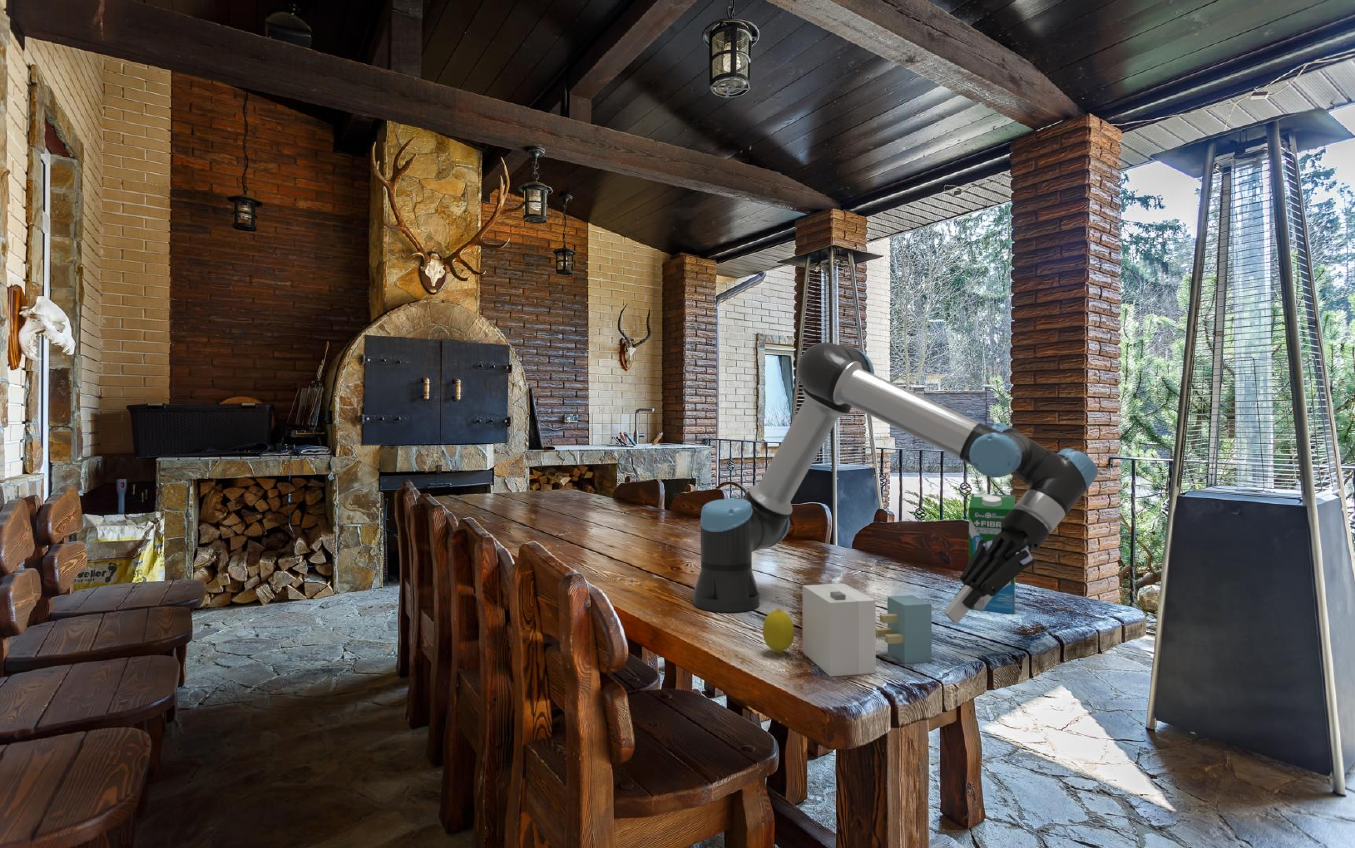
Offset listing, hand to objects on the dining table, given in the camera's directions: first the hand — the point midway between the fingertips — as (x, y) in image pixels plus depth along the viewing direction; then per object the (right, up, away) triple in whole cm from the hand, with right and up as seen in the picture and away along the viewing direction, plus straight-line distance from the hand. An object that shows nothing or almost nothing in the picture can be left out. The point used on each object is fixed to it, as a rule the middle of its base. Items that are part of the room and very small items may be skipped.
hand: (950, 617), depth 119 cm
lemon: (-30, -7, 0) cm, 31 cm away
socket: (-20, -7, -4) cm, 21 cm away
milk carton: (+22, -7, +31) cm, 39 cm away
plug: (-9, -7, -1) cm, 11 cm away
